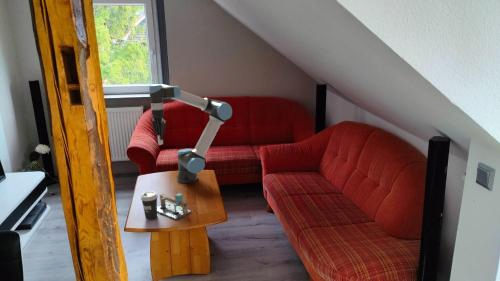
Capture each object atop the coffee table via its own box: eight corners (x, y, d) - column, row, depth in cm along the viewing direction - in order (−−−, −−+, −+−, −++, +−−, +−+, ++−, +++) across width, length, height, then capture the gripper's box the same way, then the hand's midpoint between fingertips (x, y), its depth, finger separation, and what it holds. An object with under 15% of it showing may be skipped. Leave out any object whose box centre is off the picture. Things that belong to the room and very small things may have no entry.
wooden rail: (163, 203, 232) (162, 193, 231) (187, 212, 219) (186, 202, 217) (157, 206, 228) (156, 196, 227) (181, 216, 215) (180, 205, 214)
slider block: (180, 208, 224) (179, 193, 221) (183, 210, 222) (182, 194, 219) (173, 212, 219) (171, 196, 216) (176, 213, 218) (175, 197, 215)
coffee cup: (144, 214, 221) (142, 191, 217) (160, 213, 222) (158, 190, 217) (141, 222, 212) (138, 198, 207) (158, 220, 212) (155, 197, 208)
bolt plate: (167, 203, 235) (167, 201, 234) (191, 212, 222) (191, 210, 221) (152, 210, 226) (151, 208, 225) (176, 220, 213) (175, 218, 212)
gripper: (146, 108, 235) (149, 144, 242) (159, 111, 228) (162, 147, 234) (155, 107, 241) (158, 141, 248) (168, 109, 233) (171, 144, 240)
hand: (160, 144), depth 241 cm, fingers closed
